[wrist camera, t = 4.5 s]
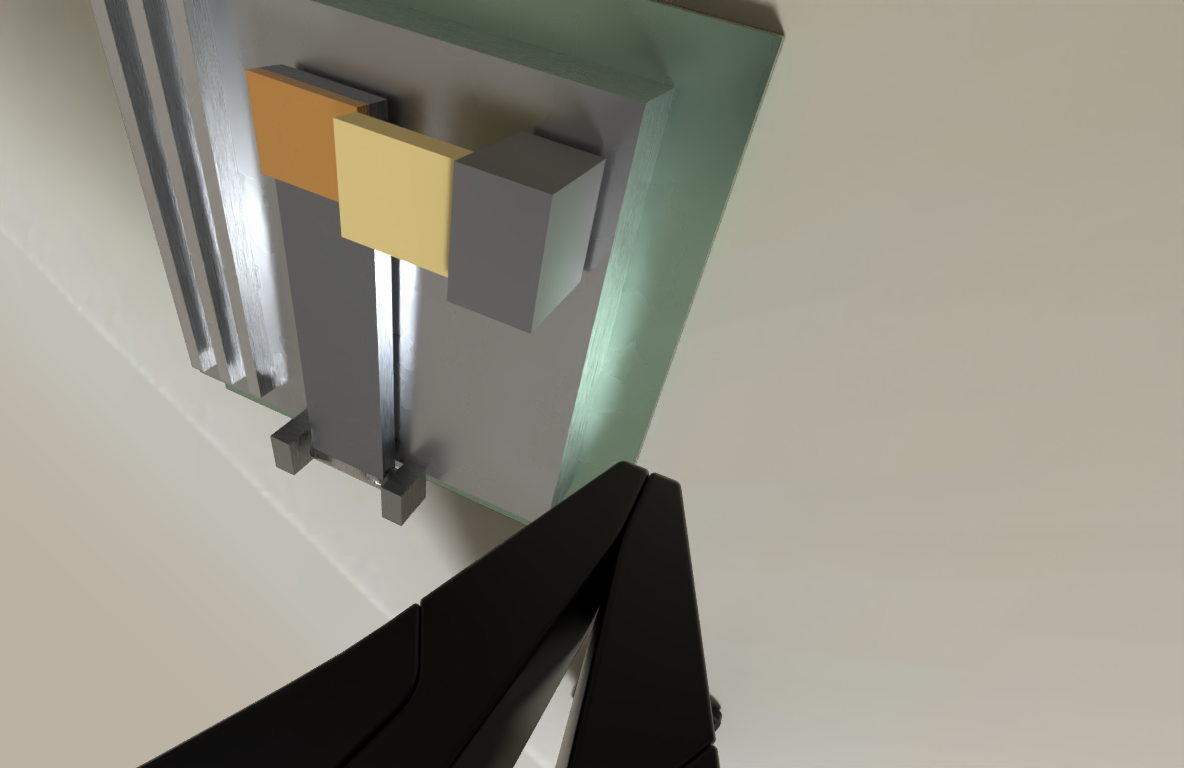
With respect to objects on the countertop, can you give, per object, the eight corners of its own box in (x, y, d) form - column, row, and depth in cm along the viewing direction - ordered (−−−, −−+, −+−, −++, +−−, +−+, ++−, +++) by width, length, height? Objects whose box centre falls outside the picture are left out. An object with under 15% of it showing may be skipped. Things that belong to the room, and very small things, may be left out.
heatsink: (606, 548, 25) (564, 641, 21) (237, 381, 28) (148, 438, 24) (785, 35, 13) (757, 55, 10) (118, -148, 16) (-84, -183, 13)
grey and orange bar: (399, 480, 22) (379, 502, 21) (327, 447, 23) (304, 467, 22) (394, 99, 14) (360, 108, 13) (281, 62, 14) (242, 68, 14)
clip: (580, 281, 14) (530, 333, 12) (401, 214, 15) (325, 253, 13) (606, 158, 13) (553, 195, 10) (400, 90, 14) (312, 111, 11)
